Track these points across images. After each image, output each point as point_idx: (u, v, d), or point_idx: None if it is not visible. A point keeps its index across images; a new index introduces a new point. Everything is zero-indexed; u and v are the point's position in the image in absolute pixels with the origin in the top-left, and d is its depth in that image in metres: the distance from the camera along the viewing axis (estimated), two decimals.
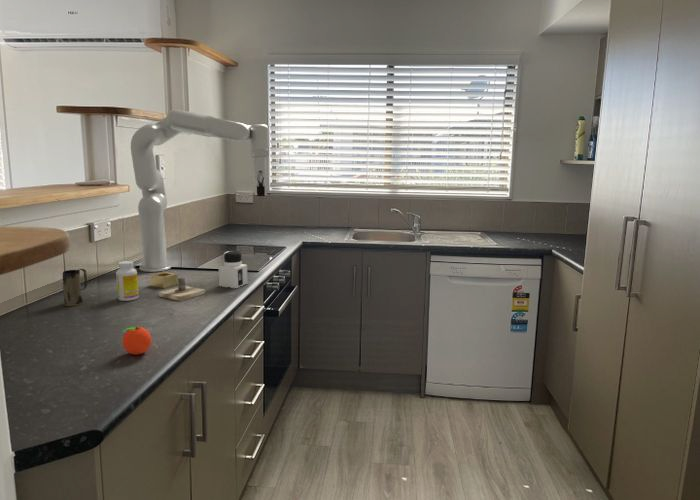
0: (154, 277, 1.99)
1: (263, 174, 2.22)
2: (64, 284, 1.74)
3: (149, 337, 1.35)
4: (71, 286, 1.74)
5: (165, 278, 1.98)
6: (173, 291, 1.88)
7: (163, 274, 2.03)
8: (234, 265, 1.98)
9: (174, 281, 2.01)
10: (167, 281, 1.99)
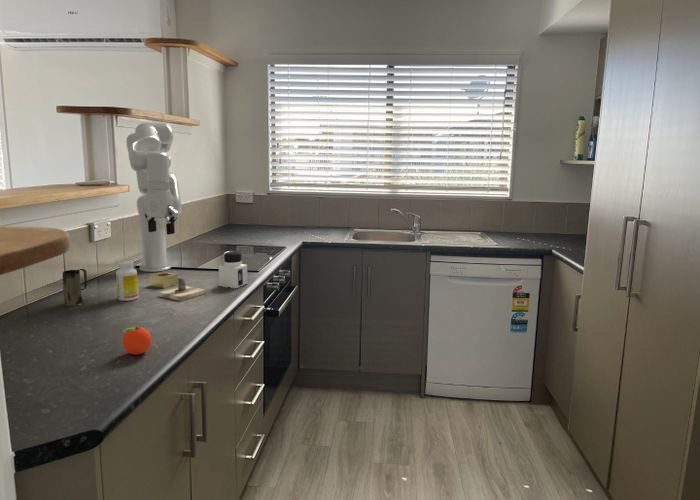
0: (154, 277, 1.99)
1: None
2: (64, 284, 1.74)
3: (149, 337, 1.35)
4: (71, 286, 1.74)
5: (165, 278, 1.98)
6: (173, 291, 1.88)
7: (163, 274, 2.03)
8: (234, 265, 1.98)
9: (174, 281, 2.01)
10: (167, 281, 1.99)
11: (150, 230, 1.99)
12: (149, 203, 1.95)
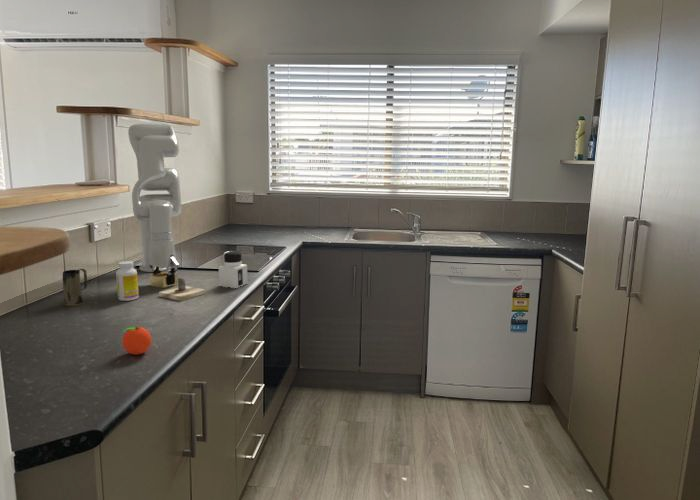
0: (154, 277, 1.99)
1: (174, 258, 1.98)
2: (64, 284, 1.74)
3: (149, 337, 1.35)
4: (71, 286, 1.74)
5: (165, 278, 1.98)
6: (173, 291, 1.88)
7: (163, 274, 2.03)
8: (234, 265, 1.98)
9: None
10: None
11: None
12: (152, 253, 1.98)
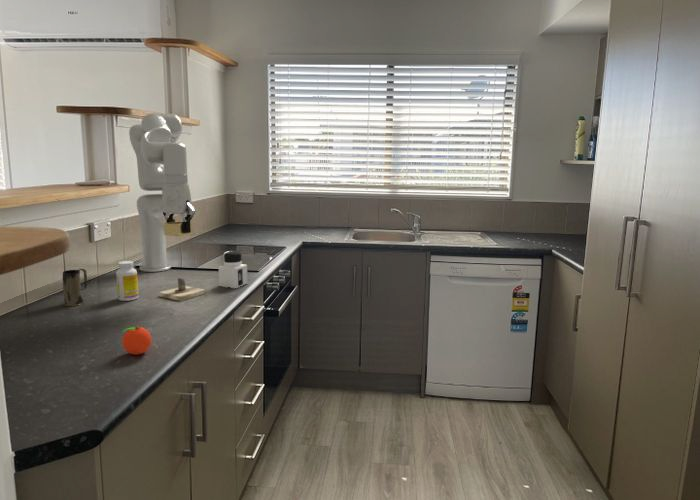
0: (168, 225, 1.82)
1: (190, 204, 1.81)
2: (64, 284, 1.74)
3: (149, 337, 1.35)
4: (71, 286, 1.74)
5: (180, 225, 1.80)
6: (173, 291, 1.88)
7: (177, 223, 1.86)
8: (234, 265, 1.98)
9: None
10: None
11: None
12: (166, 198, 1.81)
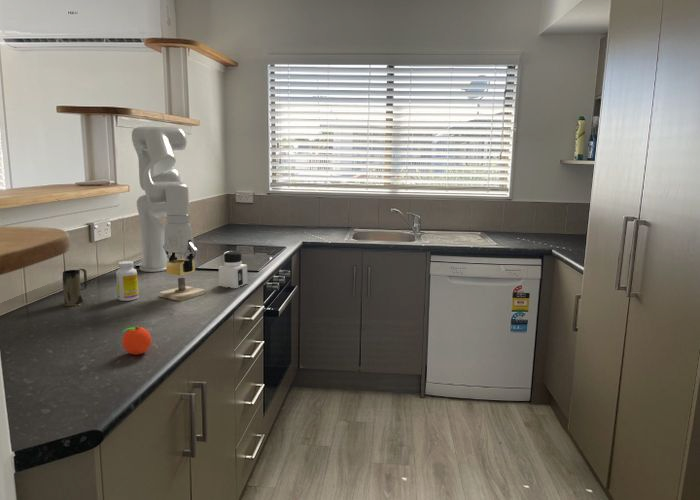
0: (170, 264, 1.84)
1: (192, 243, 1.84)
2: (64, 284, 1.74)
3: (149, 337, 1.35)
4: (71, 286, 1.74)
5: (182, 265, 1.83)
6: (173, 291, 1.88)
7: (179, 261, 1.89)
8: (234, 265, 1.98)
9: None
10: (184, 268, 1.84)
11: None
12: (168, 237, 1.84)
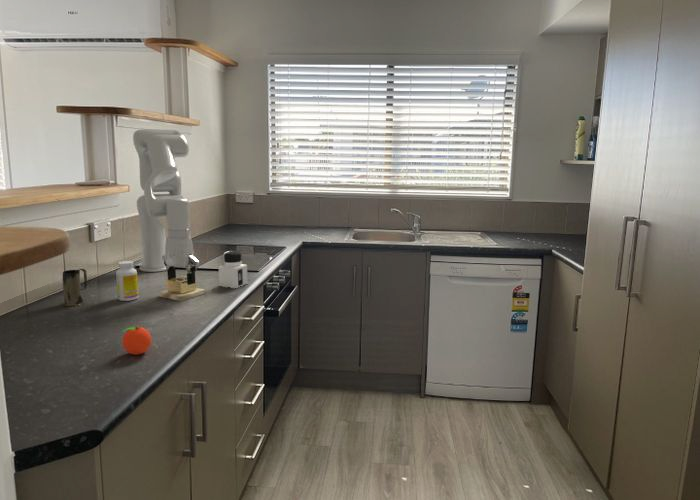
0: (171, 282, 1.86)
1: None
2: (64, 284, 1.74)
3: (149, 337, 1.35)
4: (71, 286, 1.74)
5: (183, 283, 1.84)
6: None
7: None
8: (234, 265, 1.98)
9: (192, 285, 1.88)
10: (185, 286, 1.85)
11: None
12: (169, 251, 1.85)
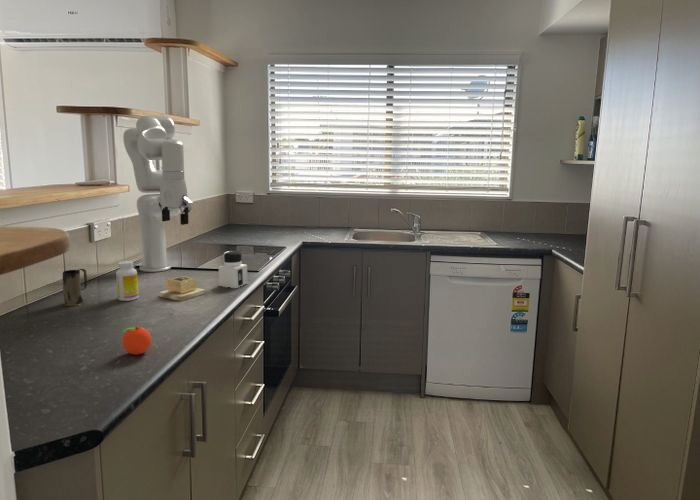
0: (171, 282, 1.86)
1: None
2: (64, 284, 1.74)
3: (149, 337, 1.35)
4: (71, 286, 1.74)
5: (183, 283, 1.84)
6: None
7: None
8: (234, 265, 1.98)
9: (192, 285, 1.88)
10: (185, 286, 1.85)
11: (164, 219, 1.97)
12: (163, 192, 1.92)
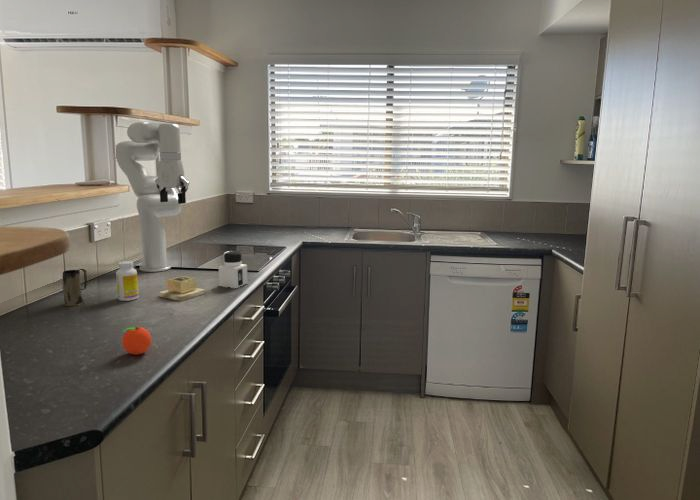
0: (171, 282, 1.86)
1: None
2: (64, 284, 1.74)
3: (149, 337, 1.35)
4: (71, 286, 1.74)
5: (183, 283, 1.84)
6: None
7: None
8: (234, 265, 1.98)
9: (192, 285, 1.88)
10: (185, 286, 1.85)
11: (162, 200, 2.05)
12: (161, 173, 2.00)
